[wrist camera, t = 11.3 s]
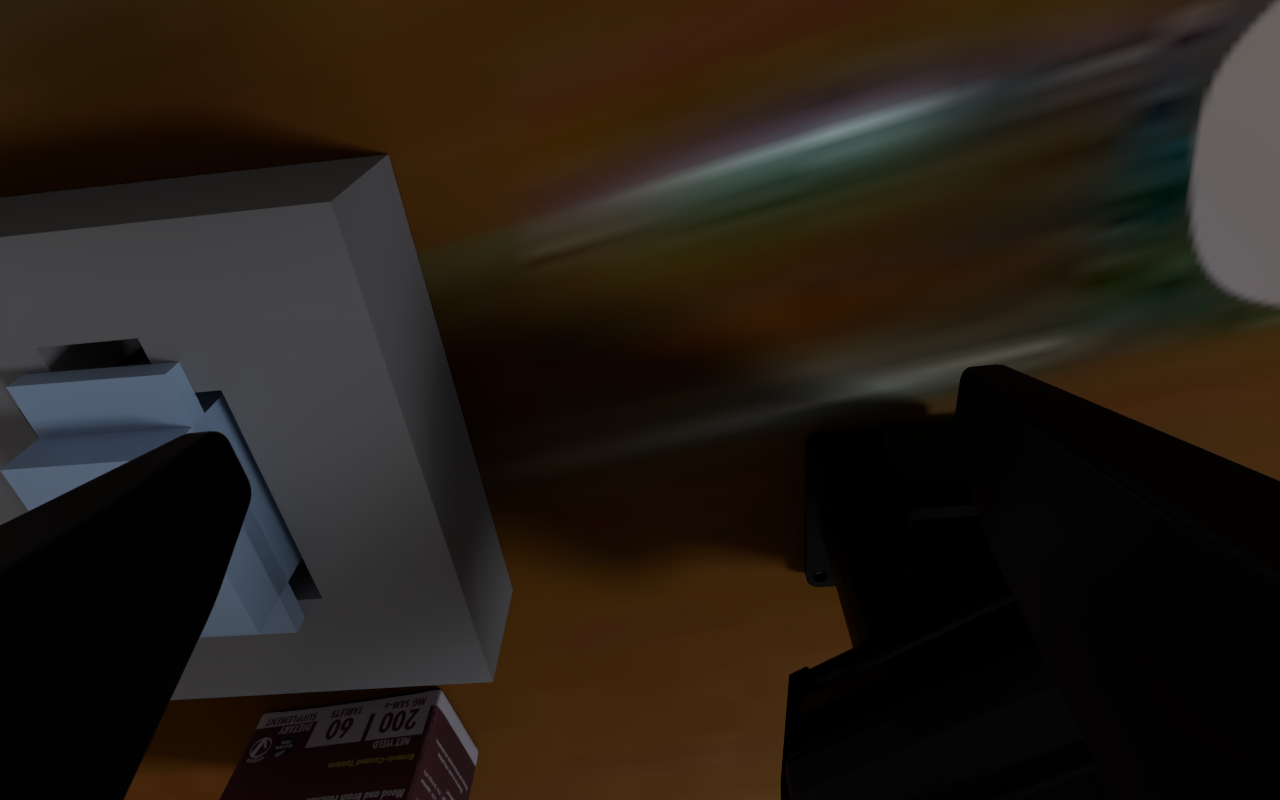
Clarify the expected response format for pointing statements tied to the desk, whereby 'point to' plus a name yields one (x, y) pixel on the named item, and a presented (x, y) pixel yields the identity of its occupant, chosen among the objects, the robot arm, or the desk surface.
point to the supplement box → (359, 753)
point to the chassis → (284, 400)
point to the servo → (133, 425)
